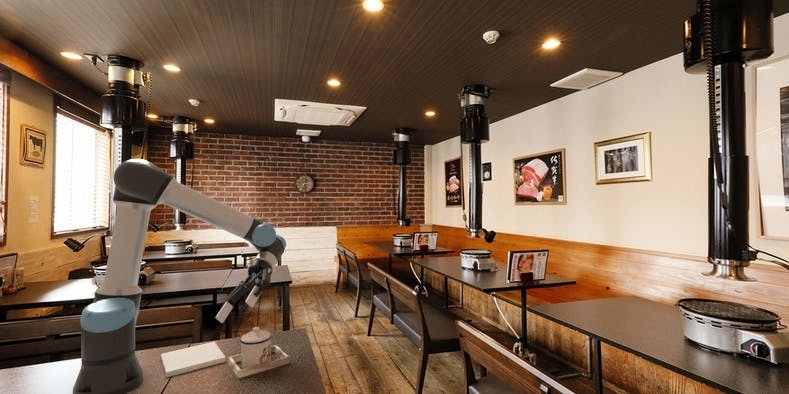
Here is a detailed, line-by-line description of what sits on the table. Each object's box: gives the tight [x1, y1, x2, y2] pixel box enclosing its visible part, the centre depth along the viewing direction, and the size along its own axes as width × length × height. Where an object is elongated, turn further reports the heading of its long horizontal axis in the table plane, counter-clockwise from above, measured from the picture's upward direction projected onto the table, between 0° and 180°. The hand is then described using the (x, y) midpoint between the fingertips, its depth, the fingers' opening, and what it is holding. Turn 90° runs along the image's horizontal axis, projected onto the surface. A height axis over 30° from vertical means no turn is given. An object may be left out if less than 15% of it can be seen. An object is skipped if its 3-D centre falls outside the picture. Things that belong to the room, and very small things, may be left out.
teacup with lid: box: [240, 326, 273, 369], centre depth 113 cm, size 12×9×12 cm
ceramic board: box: [160, 341, 226, 378], centre depth 115 cm, size 16×16×2 cm
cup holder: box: [227, 344, 290, 379], centre depth 113 cm, size 12×15×2 cm
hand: (233, 312), depth 109 cm, fingers open, 13 cm apart
